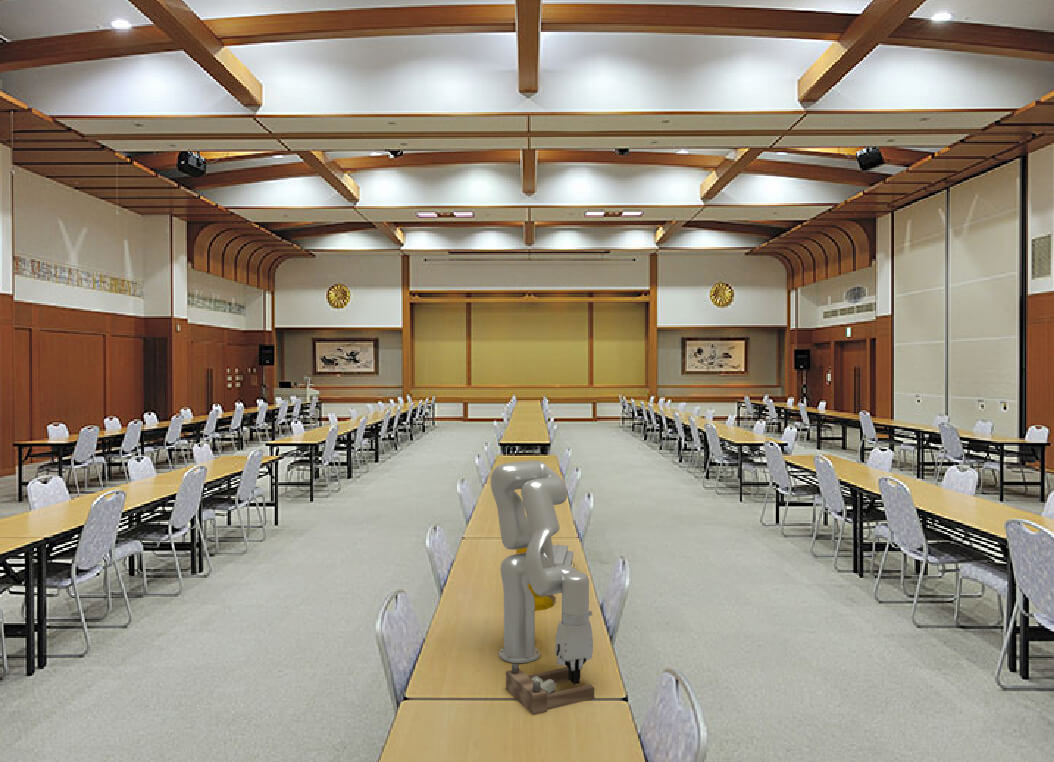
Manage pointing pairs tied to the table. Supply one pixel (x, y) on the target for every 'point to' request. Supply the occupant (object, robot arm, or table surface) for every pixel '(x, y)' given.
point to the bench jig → (538, 697)
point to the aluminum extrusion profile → (562, 555)
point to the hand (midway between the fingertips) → (574, 682)
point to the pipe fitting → (545, 684)
